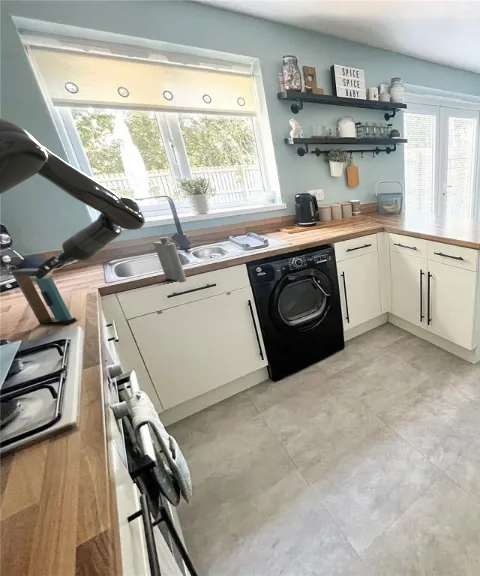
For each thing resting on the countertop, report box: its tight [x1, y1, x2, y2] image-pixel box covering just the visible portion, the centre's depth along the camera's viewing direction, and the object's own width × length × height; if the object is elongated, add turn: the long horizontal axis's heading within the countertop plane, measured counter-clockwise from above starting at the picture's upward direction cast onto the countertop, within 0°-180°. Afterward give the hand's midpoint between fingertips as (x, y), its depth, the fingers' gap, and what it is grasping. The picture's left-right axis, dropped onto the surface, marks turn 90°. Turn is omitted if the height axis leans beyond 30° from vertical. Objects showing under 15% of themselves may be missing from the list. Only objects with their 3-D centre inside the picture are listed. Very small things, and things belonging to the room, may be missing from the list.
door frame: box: [10, 267, 77, 326], centre depth 104 cm, size 3×12×20 cm, turn 80°
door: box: [34, 277, 73, 320], centre depth 104 cm, size 3×6×15 cm, turn 80°
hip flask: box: [153, 236, 188, 283], centre depth 142 cm, size 16×4×20 cm, turn 57°
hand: (47, 272), depth 99 cm, fingers open, 8 cm apart
